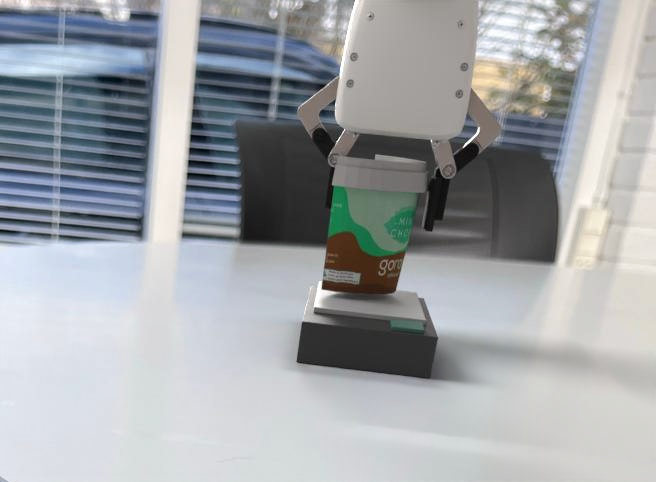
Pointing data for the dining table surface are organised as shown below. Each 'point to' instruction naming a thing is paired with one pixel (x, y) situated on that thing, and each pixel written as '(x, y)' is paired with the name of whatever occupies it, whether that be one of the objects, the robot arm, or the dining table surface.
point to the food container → (371, 222)
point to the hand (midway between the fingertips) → (381, 222)
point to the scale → (368, 332)
